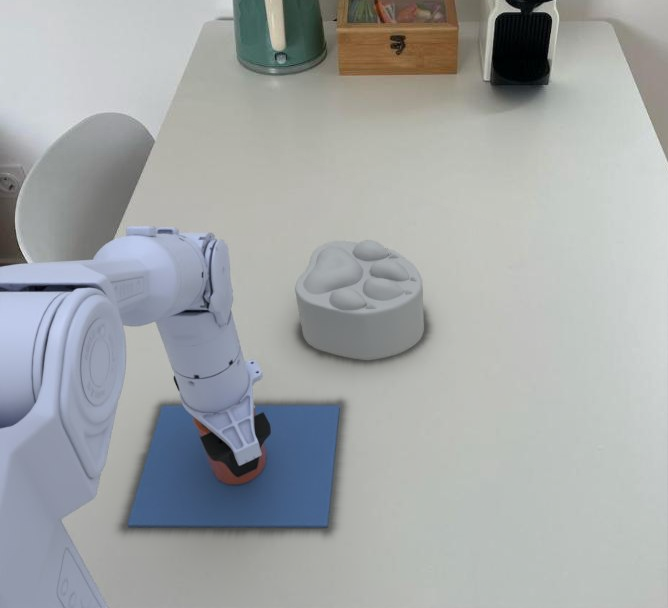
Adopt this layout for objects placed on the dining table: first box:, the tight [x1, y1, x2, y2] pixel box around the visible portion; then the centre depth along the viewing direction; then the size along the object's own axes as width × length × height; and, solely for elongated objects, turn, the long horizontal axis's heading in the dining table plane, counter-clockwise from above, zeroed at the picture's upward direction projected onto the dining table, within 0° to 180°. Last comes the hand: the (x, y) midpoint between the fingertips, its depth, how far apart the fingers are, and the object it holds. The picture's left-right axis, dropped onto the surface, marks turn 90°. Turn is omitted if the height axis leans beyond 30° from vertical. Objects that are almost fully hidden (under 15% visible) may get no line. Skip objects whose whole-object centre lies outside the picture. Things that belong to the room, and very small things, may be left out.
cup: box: [193, 401, 267, 485], centre depth 74 cm, size 5×5×8 cm
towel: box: [126, 404, 341, 529], centre depth 77 cm, size 18×13×1 cm
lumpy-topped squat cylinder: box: [294, 239, 425, 361], centre depth 87 cm, size 10×13×9 cm
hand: (234, 446), depth 75 cm, fingers closed on cup, 5 cm apart
